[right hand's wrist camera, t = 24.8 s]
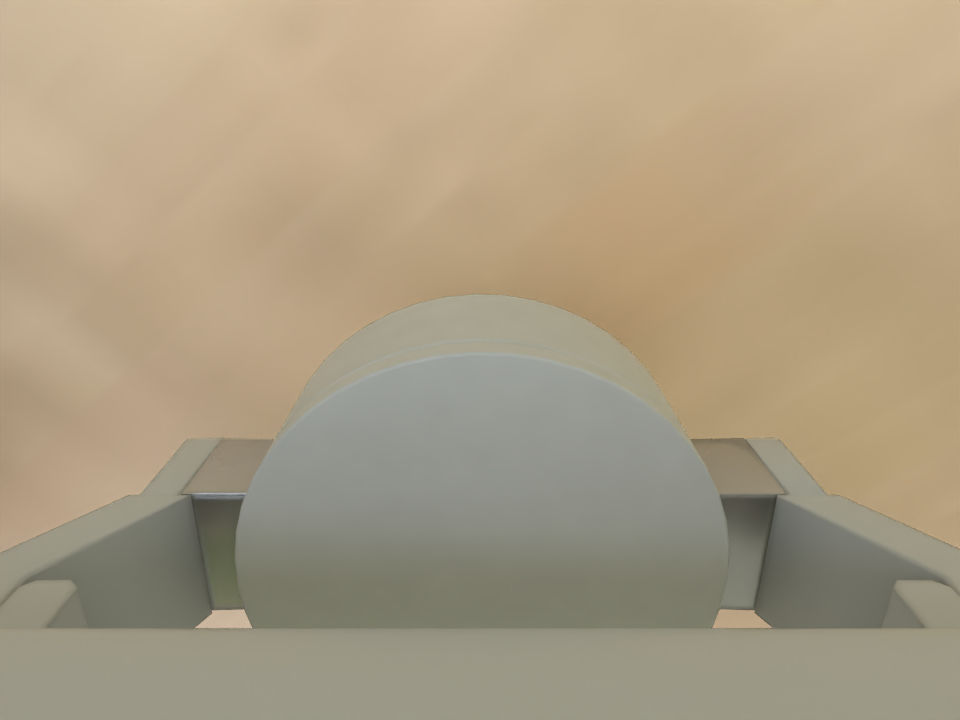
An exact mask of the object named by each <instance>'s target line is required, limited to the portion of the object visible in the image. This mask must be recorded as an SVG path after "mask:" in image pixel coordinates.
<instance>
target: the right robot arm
mask: <svg viewBox="0 0 960 720" xmlns="http://www.w3.org/2000/svg"><path fill="white" fill-rule="evenodd" d="M274 440H275V439H232V438H227V439H224V438H194V439H187V440H186V441H185V442H184V443H183V445H182V446H181V447H180V448H179V449H178V451H177V452H176V453H175V454H174V455H173V456H172V458H171V459H170V460H169V461H168V462H167V464H166V465H165V466H164V467H163V468H162V469H161V471H160V472H159V473H158V474H157V475H156V477H155V478H154V479H153V480H152V481H151V483H150V484H149V485H148V486H147V487H146V488H145V490H144V491H143V492H142V493H141V494H140V495H128V496H126V497H123V498H121V499H119V500H117V501H115V502H112V503H110V504H108V505H106V506H103V507H101V508H99V509H97V510H95V511H92V512H90V513H88V514H86V515H83V516H81V517H79V518H77V519H75V520H72V521H70V522H68V523H66V524H63V525H61V526H59V527H57V528H55V529H52V530H50V531H48V532H46V533H43V534H41V535H39V536H37V537H35V538H32V539H30V540H28V541H26V542H23V543H21V544H19V545H17V546H15V547H12V548H10V549H8V550H6V551H3V552H1V553H0V720H960V549H958V548H956V547H954V546H952V545H949V544H947V543H945V542H943V541H940V540H938V539H936V538H934V537H932V536H929V535H927V534H925V533H923V532H920V531H918V530H916V529H914V528H911V527H909V526H907V525H905V524H902V523H900V522H898V521H896V520H893V519H891V518H889V517H887V516H885V515H882V514H880V513H878V512H876V511H873V510H871V509H869V508H867V507H864V506H862V505H860V504H858V503H855V502H853V501H851V500H849V499H846V498H844V497H842V496H840V495H827V494H826V493H825V491H824V490H823V489H822V488H821V487H820V486H819V484H818V483H817V482H816V481H815V480H814V479H813V478H812V476H811V475H810V474H809V473H808V472H807V471H806V469H805V468H804V467H803V466H802V465H801V464H800V462H799V461H798V460H797V459H796V458H795V457H794V455H793V454H792V453H791V452H790V451H789V450H788V449H787V447H786V446H785V445H784V444H783V443H782V442H781V440H779V439H776V438H751V439H744V438H728V439H690V440H691V442H692V443H693V445H694V447H695V448H696V450H697V452H698V454H699V455H700V457H701V458H702V460H703V462H704V463H705V465H706V467H707V469H708V471H709V473H710V475H711V477H712V479H713V482H714V484H715V486H716V488H717V490H718V492H719V495H720V499H721V502H722V506H723V509H724V513H725V516H726V520H727V528H728V538H729V547H730V549H729V567H728V578H727V582H726V587H725V591H724V596H723V601H722V604H721V606H720V609H733V610H755V613H756V614H757V615H758V616H759V617H761V618H762V619H763V620H764V621H765V622H767V623H768V624H769V625H770V626H771V627H773V628H195V627H196V626H197V625H199V624H200V623H201V622H202V621H203V620H205V619H206V618H207V617H208V616H209V615H211V614H212V610H233V609H244V606H243V602H242V599H241V595H240V591H239V588H238V582H237V573H236V564H235V543H236V529H237V525H238V520H239V515H240V510H241V506H242V503H243V500H244V498H245V495H246V492H247V490H248V487H249V485H250V482H251V480H252V477H253V476H254V474H255V472H256V471H257V469H258V467H259V465H260V464H261V462H262V460H263V459H264V457H265V455H266V453H267V452H268V450H269V448H270V446H271V445H272V443H273V441H274Z"/></svg>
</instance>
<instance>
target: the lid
mask: <svg viewBox="0 0 960 720" xmlns="http://www.w3.org/2000/svg"><path fill="white" fill-rule="evenodd" d="M729 549H730V547H729V538H728V528H727V520H726V516H725V513H724V509H723V506H722V502H721V499H720V495H719V492H718V490H717V488H716V486H715V484H714V482H713V479H712V477H711V475H710V473H709V471H708V469H707V467H706V465H705V463H704V462H703V460H702V458H701V457H700V455H699V454H698V452H697V450H696V448H695V447H694V445H693V443H692V442H691V440H690V438H689V437H688V435H687V433H686V432H685V430H684V428H683V426H682V425H681V423H680V421H679V420H678V418H677V416H676V415H675V413H674V411H673V410H672V408H671V406H670V405H669V403H668V401H667V400H666V398H665V396H664V395H663V393H662V391H661V390H660V388H659V387H658V385H657V384H656V382H655V381H654V379H653V378H652V376H651V375H650V373H649V372H648V370H647V369H646V368H645V367H644V366H643V365H642V364H641V362H640V361H639V360H638V359H637V358H636V357H635V356H634V355H633V354H632V352H631V351H630V350H628V349H627V348H626V347H625V346H624V345H622V344H621V343H620V342H619V341H618V340H616V339H615V338H614V337H613V336H612V335H610V334H609V333H607V332H606V331H604V330H602V329H601V328H599V327H598V326H596V325H594V324H593V323H591V322H590V321H588V320H586V319H584V318H582V317H580V316H577V315H575V314H573V313H571V312H568V311H566V310H564V309H562V308H559V307H555V306H552V305H549V304H545V303H542V302H539V301H535V300H531V299H525V298H519V297H513V296H507V295H485V294H472V295H461V296H450V297H443V298H439V299H434V300H430V301H425V302H421V303H417V304H414V305H412V306H409V307H406V308H403V309H400V310H398V311H395V312H392V313H390V314H388V315H386V316H384V317H382V318H380V319H378V320H377V321H375V322H373V323H371V324H369V325H367V326H366V327H364V328H363V329H361V330H360V331H358V332H357V333H356V334H354V335H353V336H351V337H350V338H348V339H347V340H346V341H344V342H343V343H342V344H341V345H340V346H339V347H338V348H337V349H336V350H335V351H334V352H333V353H331V354H330V355H329V356H328V357H327V358H326V359H325V360H324V362H323V363H322V364H321V365H320V367H319V368H318V369H317V370H316V372H315V373H314V374H313V375H312V377H311V378H310V379H309V381H308V383H307V384H306V386H305V388H304V390H303V391H302V393H301V395H300V396H299V398H298V400H297V402H296V403H295V405H294V407H293V408H292V410H291V412H290V414H289V415H288V417H287V419H286V421H285V422H284V424H283V426H282V427H281V429H280V431H279V433H278V434H277V436H276V438H275V440H274V441H273V443H272V445H271V446H270V448H269V450H268V452H267V453H266V455H265V457H264V459H263V460H262V462H261V464H260V465H259V467H258V469H257V471H256V472H255V474H254V476H253V477H252V480H251V482H250V485H249V487H248V490H247V492H246V495H245V498H244V500H243V503H242V506H241V510H240V515H239V520H238V525H237V529H236V543H235V564H236V573H237V582H238V588H239V591H240V595H241V599H242V602H243V606H244V609H245V612H246V614H247V617H248V619H249V621H250V623H251V626H252V628H712V627H713V624H714V622H715V619H716V617H717V614H718V611H719V609H720V606H721V604H722V601H723V596H724V591H725V587H726V582H727V578H728V567H729Z"/></svg>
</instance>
